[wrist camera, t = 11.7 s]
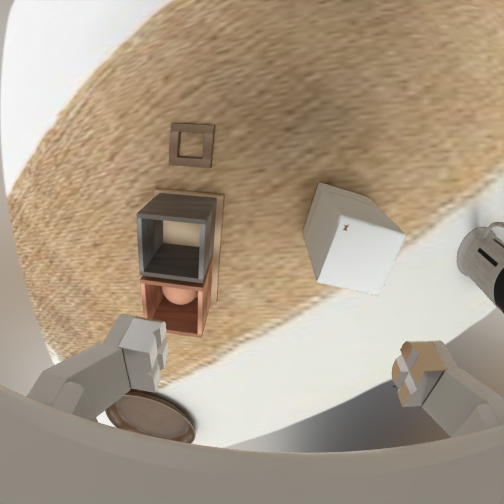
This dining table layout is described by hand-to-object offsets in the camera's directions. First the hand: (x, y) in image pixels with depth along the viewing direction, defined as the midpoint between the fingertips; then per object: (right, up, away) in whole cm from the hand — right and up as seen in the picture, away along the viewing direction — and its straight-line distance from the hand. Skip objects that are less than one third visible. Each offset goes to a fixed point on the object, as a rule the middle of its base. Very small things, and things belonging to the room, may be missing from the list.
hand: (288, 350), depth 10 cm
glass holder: (+34, +5, +31) cm, 46 cm away
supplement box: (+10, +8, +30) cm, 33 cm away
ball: (-11, -1, +32) cm, 33 cm away
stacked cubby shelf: (-10, +4, +33) cm, 35 cm away
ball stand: (-9, +16, +27) cm, 33 cm away
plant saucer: (-23, -33, +52) cm, 65 cm away
